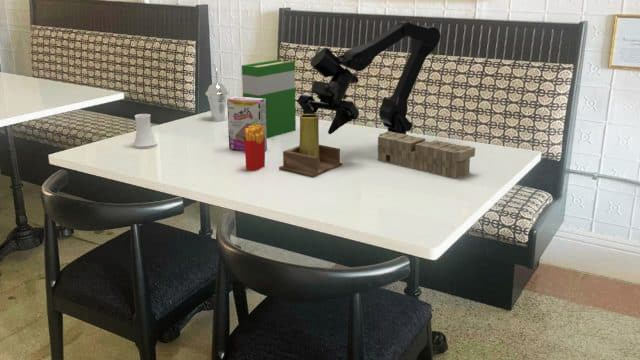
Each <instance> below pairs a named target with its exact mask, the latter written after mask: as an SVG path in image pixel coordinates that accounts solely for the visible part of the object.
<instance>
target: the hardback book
mask: <svg viewBox="0 0 640 360" xmlns="http://www.w3.org/2000/svg"><path fill="white" fill-rule="evenodd" d="M241 83H242V97H249V98H262V99H266V132H267V139H270V138H273V137H277V136H280V135H285V134H288V133H291V132H294V131H296V129H297V125H296V121H297V120H296V119H297V118H296V115H297V114H296V113H297V111H296V61H295V60H293V61H292V60H291V61H286V62H285V61H284V62H283V61H282V59H275V60H267V61H262V62H255V63H248V64H243V65H241Z"/></svg>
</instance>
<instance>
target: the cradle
mask: <svg viewBox="0 0 640 360" xmlns="http://www.w3.org/2000/svg"><path fill="white" fill-rule="evenodd" d="M299 147H300V145H297V146H295V147H291V148H289V149H286V150H284V151H282V158H283V159H282V162H283V165H281V166H279V167H278V170H279V171H283V172H286V173H292V174H295V175H300V176H303V177H307V178H312V179H313V178H316V177H318V176H321V175H323V174H325V173H328V172H330V171H332V170H335V169H337V168H339V167H341V166H343V162H341V148H338V147H334V146H333V147H332V146H328V145H323V144H319V157H320V165H319V166H318V157H314V156H310V155H305V154H300V153H299Z"/></svg>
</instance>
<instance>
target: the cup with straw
mask: <svg viewBox="0 0 640 360" xmlns="http://www.w3.org/2000/svg"><path fill="white" fill-rule="evenodd" d="M212 66H213V68H214V70H215V72H214V73H215V82H213V83H211V84H210V85H209V86H208V88H207V91H205V96H207V99H208V102H209V108H210V115H211V118H212V119H211V120H212V121H213V122H222V121H225V117H226V105H227V99H228V98H227V96H228V95H229V91H228V90H227V88H226V87H225V85H224V84H222V83H221V82H219V80H218V68H217V66H216V65H215V64H214V63H213V64H212Z"/></svg>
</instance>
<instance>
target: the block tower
mask: <svg viewBox="0 0 640 360" xmlns="http://www.w3.org/2000/svg"><path fill="white" fill-rule="evenodd" d="M475 154H476V147H474V146H470V145H462V144H461V145H460V144H457V143H451V142H447V141H440V140H438V139H437V140H435V139H434V140H431V141H429V140H427V141H426V138H425V137H419V136H414V135H409V134H407V133H406V134H400V133H394V132H391V131H388V130H387V131H385V132H382V133H380V134H379V135H378V136H377V161H378V162H382V163H383V162H384V163H388V162H389V164H390V165H394V166H395V165H396V166H399V167H402V168H408V169H411V170H416V171H420V172H424V173H427V172H428V174H431V173H432V175H435V174H436V175H437V176H441V177H445V178H450V179H454V180H456V179H458V178H460V176H461V177H463V176H465V175H467V174H469V173H470V165H471V163H470V161H471V160H470V159H471V158H473V157H475V156H476V155H475Z"/></svg>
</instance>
